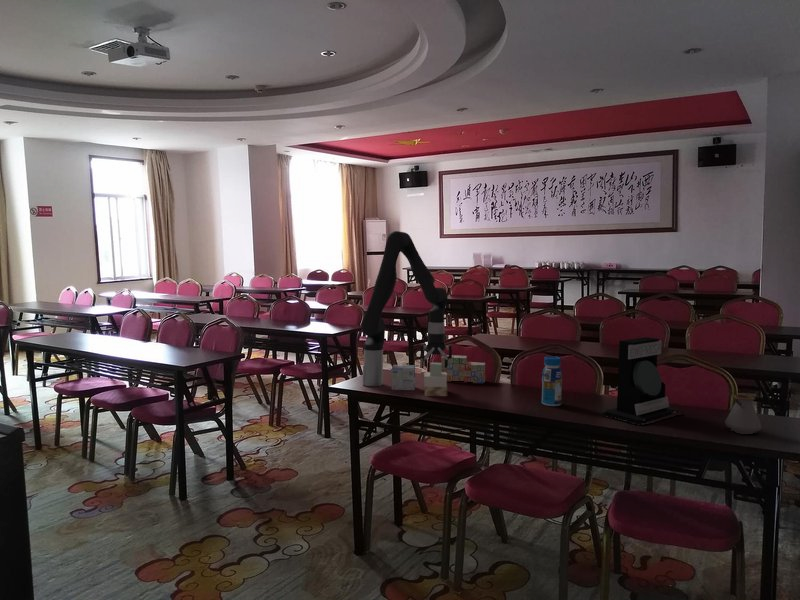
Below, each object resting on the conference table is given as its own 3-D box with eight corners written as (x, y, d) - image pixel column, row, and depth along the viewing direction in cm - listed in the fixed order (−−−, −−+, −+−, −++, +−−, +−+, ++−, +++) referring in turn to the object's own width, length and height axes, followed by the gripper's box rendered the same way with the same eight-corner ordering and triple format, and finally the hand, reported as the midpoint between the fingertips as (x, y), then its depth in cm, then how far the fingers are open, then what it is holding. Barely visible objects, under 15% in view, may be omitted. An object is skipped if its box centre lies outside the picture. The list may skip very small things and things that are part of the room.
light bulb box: (415, 387, 284) (415, 364, 283) (414, 390, 278) (414, 367, 277) (393, 386, 286) (393, 364, 285) (391, 390, 279) (391, 367, 278)
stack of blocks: (485, 381, 299) (485, 356, 298) (483, 384, 293) (483, 359, 292) (443, 378, 305) (443, 354, 304) (440, 381, 299) (440, 356, 298)
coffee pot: (728, 425, 226) (730, 385, 225) (763, 431, 218) (766, 390, 217) (714, 438, 210) (716, 396, 208) (752, 445, 202) (754, 401, 201)
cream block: (424, 386, 268) (424, 376, 267) (424, 381, 278) (425, 372, 277) (446, 387, 267) (446, 377, 267) (446, 382, 277) (446, 372, 277)
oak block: (424, 396, 268) (424, 386, 268) (424, 391, 278) (424, 381, 278) (447, 396, 268) (447, 387, 267) (446, 391, 278) (446, 381, 277)
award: (641, 427, 223) (644, 347, 220) (598, 415, 238) (600, 340, 236) (685, 414, 241) (688, 340, 238) (642, 404, 256) (645, 334, 253)
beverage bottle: (538, 401, 259) (539, 355, 257) (557, 401, 260) (559, 355, 258) (544, 406, 251) (545, 359, 249) (564, 406, 251) (565, 359, 250)
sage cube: (430, 375, 270) (430, 364, 269) (430, 373, 274) (430, 362, 274) (441, 375, 269) (441, 364, 269) (441, 373, 274) (441, 362, 274)
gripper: (420, 333, 267) (420, 369, 268) (452, 333, 266) (452, 369, 268) (420, 330, 275) (420, 365, 276) (451, 331, 274) (451, 366, 275)
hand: (435, 367), depth 272 cm, fingers open, 8 cm apart
